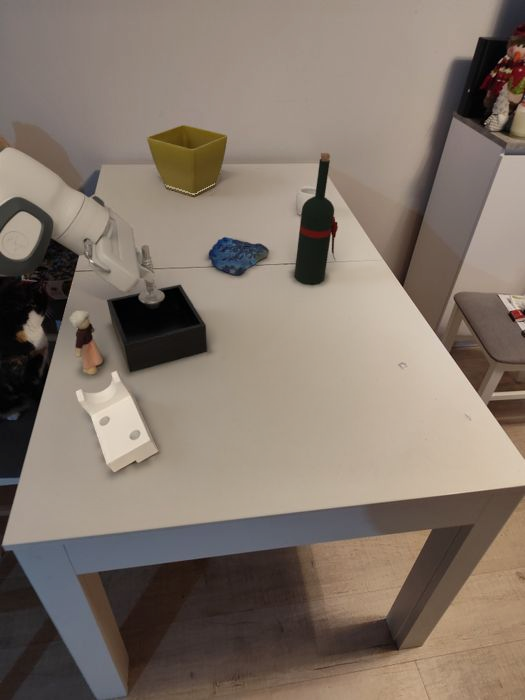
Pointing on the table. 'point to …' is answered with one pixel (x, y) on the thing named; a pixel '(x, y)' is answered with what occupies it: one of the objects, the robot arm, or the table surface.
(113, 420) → the bracket
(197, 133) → the flower pot
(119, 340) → the open box
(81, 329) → the grandmother figurine
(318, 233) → the wine bottle
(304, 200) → the mug
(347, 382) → the table surface
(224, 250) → the rock
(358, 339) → the table surface
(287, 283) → the table surface
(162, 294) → the screw
